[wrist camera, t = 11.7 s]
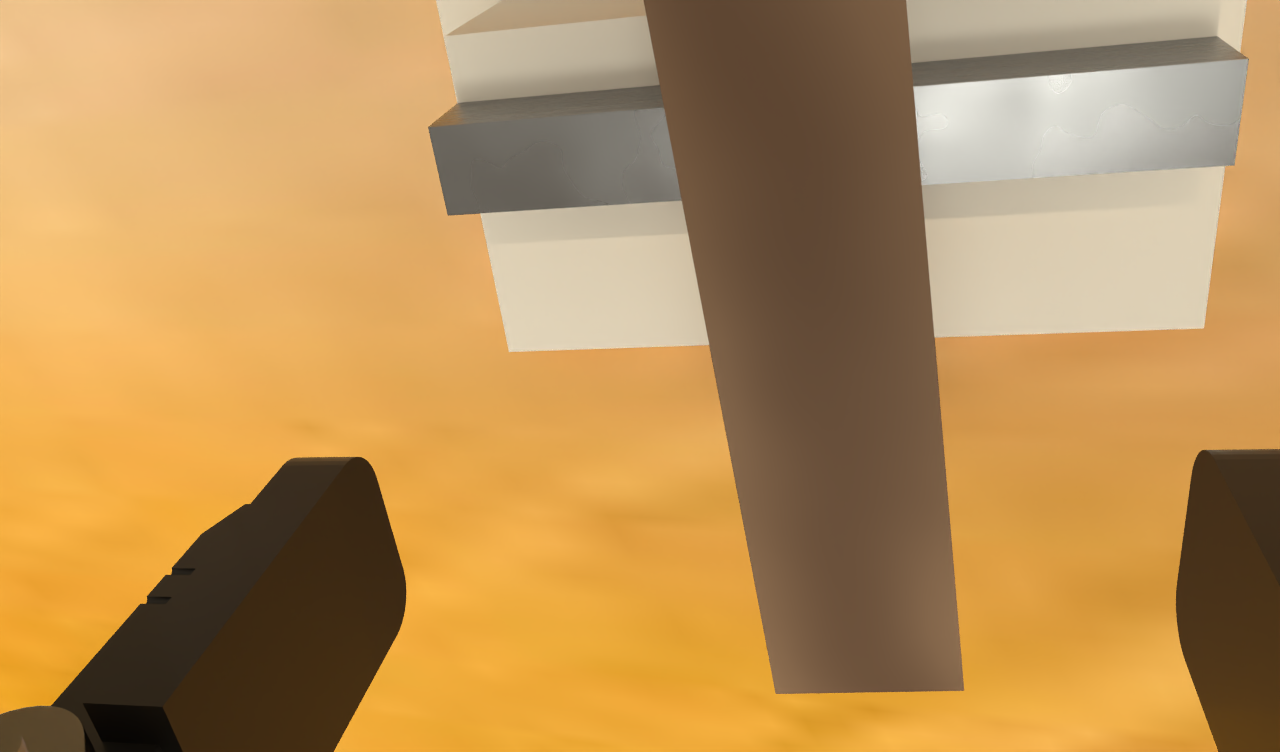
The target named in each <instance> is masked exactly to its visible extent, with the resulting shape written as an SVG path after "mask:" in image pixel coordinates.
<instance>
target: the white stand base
mask: <svg viewBox="0 0 1280 752" xmlns="http://www.w3.org/2000/svg"><path fill="white" fill-rule="evenodd" d="M436 2H437V7H438V12H439V17H440V22H441V27H442V31H443V36H444V41H445V46H446V51H447V55H448V60H449V65H450V70H451V75H452V79H453V84H454V89H455V94H456V99H457V104H456V105H455V106H454V107H453V108H451V109H450V110H449V111H448V112H446V113H445V114H444V115H443V116H441V117H440V118H439V119H438V120H436V121H435V122H434V123H433V124H432V125H430V126H429V127H428V129H429V133H430V138H431V142H432V146H433V151H434V155H435V160H436V164H437V169H438V173H439V178H440V182H441V187H442V191H443V196H444V200H445V205H446V209H447V214H448V215H463V214H479V213H480V214H481V219H482V224H483V229H484V233H485V238H486V243H487V248H488V253H489V257H490V262H491V267H492V272H493V277H494V282H495V286H496V291H497V296H498V301H499V306H500V310H501V315H502V320H503V325H504V330H505V334H506V339H507V344H508V349H509V352H519V351H549V350H578V349H608V348H637V347H667V346H697V345H709V341H708V336H707V330H706V325H705V320H704V315H703V309H702V304H701V299H700V294H699V288H698V283H697V278H696V273H695V268H694V262H693V257H692V252H691V247H690V241H689V236H688V231H687V226H686V220H685V215H684V210H683V205H682V199H681V194H680V189H679V184H678V178H677V173H676V168H675V163H674V157H673V152H672V147H671V142H670V137H669V131H668V126H667V121H666V116H665V110H664V105H663V100H662V95H661V89H660V84H659V79H658V74H657V68H656V63H655V58H654V53H653V47H652V42H651V37H650V32H649V26H648V21H647V16H646V11H645V5H644V0H436ZM906 4H907V16H908V28H909V40H910V52H911V64H912V76H913V88H914V100H915V112H916V124H917V136H918V147H919V159H920V171H921V183H922V195H923V207H924V219H925V231H926V243H927V255H928V267H929V279H930V291H931V302H932V314H933V326H934V337H962V336H992V335H1021V334H1051V333H1080V332H1110V331H1140V330H1169V329H1199V328H1204V324H1205V316H1206V309H1207V301H1208V293H1209V286H1210V278H1211V270H1212V263H1213V255H1214V248H1215V240H1216V232H1217V225H1218V217H1219V210H1220V202H1221V194H1222V187H1223V179H1224V172H1225V166H1232V165H1234V164H1235V157H1236V150H1237V142H1238V135H1239V127H1240V120H1241V113H1242V105H1243V98H1244V90H1245V83H1246V76H1247V68H1248V61H1249V59H1248V58H1247V57H1245V56H1244V55H1243V54H1241V53H1240V50H1241V42H1242V35H1243V27H1244V19H1245V12H1246V4H1247V0H906Z"/></svg>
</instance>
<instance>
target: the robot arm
mask: <svg viewBox="0 0 1280 752" xmlns="http://www.w3.org/2000/svg"><path fill="white" fill-rule="evenodd" d="M405 605H406V581H405V575H404V570H403V567H402V563H401V560H400V556H399V553H398V550H397V546H396V543H395V539H394V536H393V532H392V529H391V525H390V522H389V519H388V515H387V512H386V508H385V505H384V501H383V498H382V494H381V491H380V488H379V484H378V481H377V478H376V475H375V472H374V470H373V468H372V466H371V465H370V464H369V462H368V461H367V460H365V459H364V458H361V457H312V458H293V459H290V460H289V461H287V462H286V463H285V464H284V465H283V466H282V467H281V468H280V470H279V471H278V472H277V473H276V474H275V475H274V477H273V478H272V479H271V480H270V481H269V483H268V484H267V485H266V486H265V487H264V489H263V490H262V491H261V492H260V493H259V494H258V496H257V497H256V498H255V499H254V500H253V502H252V503H251V504H245V505H243V506H242V507H240V508H239V509H237V510H236V511H235V512H233V513H232V514H230V515H229V516H227V517H226V518H224V519H223V520H221V521H220V522H218V523H217V524H216V525H214V526H213V527H211V528H210V529H208V530H207V531H205V532H204V533H202V534H201V535H200V536H199V538H198V539H197V540H196V541H195V542H194V543H193V544H192V546H191V547H190V548H189V549H188V550H187V551H186V552H185V554H184V555H183V556H182V557H181V558H180V559H179V560H178V562H177V563H176V564H175V565H174V566H173V567H172V574H171V575H165V576H164V578H163V579H162V580H161V581H160V582H159V583H158V584H157V586H156V587H155V588H154V589H153V590H152V591H151V592H150V594H149V595H148V596H147V603H146V604H140V605H139V606H138V607H137V608H136V610H135V611H134V612H133V613H132V614H131V615H130V616H129V618H128V619H127V620H126V621H125V622H124V623H123V624H122V626H121V627H120V628H119V629H118V630H117V631H116V632H115V634H114V635H113V636H112V637H111V638H110V639H109V640H108V642H107V643H106V644H105V645H104V646H103V647H102V648H101V649H100V651H99V652H98V653H97V654H96V655H95V656H94V657H93V659H92V660H91V661H90V662H89V663H88V664H87V665H86V667H85V668H84V669H83V670H82V671H81V672H80V673H79V675H78V676H77V677H76V678H75V679H74V680H73V681H72V683H71V684H70V685H69V686H68V687H67V688H66V689H65V691H64V692H63V693H62V694H61V695H60V696H59V697H58V699H57V700H56V701H55V702H54V703H53V704H52V705H51V706H35V707H27V708H22V709H17V710H13V711H9V712H6V713H3V714H0V752H334V750H335V748H336V746H337V744H338V743H339V741H340V739H341V737H342V735H343V733H344V731H345V730H346V728H347V726H348V724H349V722H350V720H351V719H352V717H353V715H354V713H355V711H356V709H357V708H358V706H359V704H360V702H361V700H362V698H363V697H364V695H365V693H366V691H367V689H368V687H369V686H370V684H371V682H372V680H373V678H374V676H375V675H376V673H377V671H378V669H379V667H380V665H381V664H382V662H383V660H384V658H385V656H386V654H387V652H388V651H389V649H390V647H391V645H392V643H393V641H394V640H395V638H396V636H397V634H398V632H399V630H400V627H401V624H402V621H403V617H404V612H405ZM1176 613H1177V625H1178V632H1179V638H1180V643H1181V648H1182V652H1183V655H1184V658H1185V661H1186V664H1187V667H1188V670H1189V672H1190V675H1191V678H1192V680H1193V683H1194V686H1195V689H1196V691H1197V694H1198V697H1199V700H1200V702H1201V705H1202V708H1203V711H1204V713H1205V716H1206V719H1207V721H1208V724H1209V727H1210V730H1211V732H1212V735H1213V738H1214V741H1215V743H1216V746H1217V749H1218V752H1280V449H1258V450H1202V451H1201V452H1199V454H1198V455H1197V457H1196V460H1195V462H1194V466H1193V470H1192V476H1191V484H1190V491H1189V499H1188V506H1187V513H1186V521H1185V528H1184V536H1183V543H1182V551H1181V558H1180V566H1179V573H1178V581H1177V590H1176Z"/></svg>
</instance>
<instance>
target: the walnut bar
mask: <svg viewBox="0 0 1280 752" xmlns="http://www.w3.org/2000/svg"><path fill="white" fill-rule="evenodd" d="M644 5H645V11H646V16H647V21H648V26H649V32H650V37H651V42H652V47H653V53H654V58H655V63H656V68H657V74H658V79H659V84H660V89H661V95H662V100H663V105H664V110H665V116H666V121H667V126H668V131H669V137H670V142H671V147H672V152H673V157H674V163H675V168H676V173H677V178H678V184H679V189H680V194H681V199H682V205H683V210H684V215H685V220H686V226H687V231H688V236H689V241H690V247H691V252H692V257H693V262H694V268H695V273H696V278H697V283H698V288H699V294H700V299H701V304H702V309H703V315H704V320H705V325H706V330H707V336H708V341H709V346H710V351H711V357H712V362H713V367H714V372H715V378H716V383H717V388H718V393H719V399H720V404H721V409H722V414H723V420H724V425H725V430H726V435H727V440H728V446H729V451H730V456H731V461H732V467H733V472H734V477H735V482H736V488H737V493H738V498H739V503H740V509H741V514H742V519H743V524H744V530H745V535H746V540H747V545H748V551H749V556H750V561H751V566H752V571H753V577H754V582H755V587H756V592H757V598H758V603H759V608H760V613H761V619H762V624H763V629H764V634H765V640H766V645H767V650H768V655H769V661H770V666H771V671H772V676H773V682H774V687H775V692H776V694H794V693H854V692H914V691H964V684H963V672H962V660H961V648H960V636H959V624H958V612H957V600H956V589H955V577H954V565H953V553H952V541H951V529H950V517H949V505H948V493H947V481H946V469H945V457H944V445H943V434H942V422H941V410H940V398H939V386H938V374H937V362H936V350H935V338H934V326H933V314H932V302H931V291H930V279H929V267H928V255H927V243H926V231H925V219H924V207H923V195H922V183H921V171H920V159H919V147H918V136H917V124H916V112H915V100H914V88H913V76H912V64H911V52H910V40H909V28H908V16H907V4H906V0H644Z"/></svg>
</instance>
